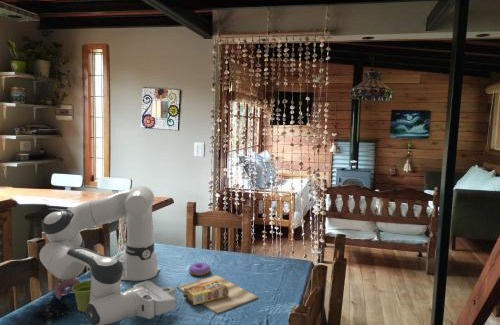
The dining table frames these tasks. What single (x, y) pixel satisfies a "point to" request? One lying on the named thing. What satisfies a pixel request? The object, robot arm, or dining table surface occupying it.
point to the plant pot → (82, 294)
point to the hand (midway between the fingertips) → (173, 289)
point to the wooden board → (226, 303)
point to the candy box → (206, 292)
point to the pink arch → (62, 285)
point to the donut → (199, 269)
